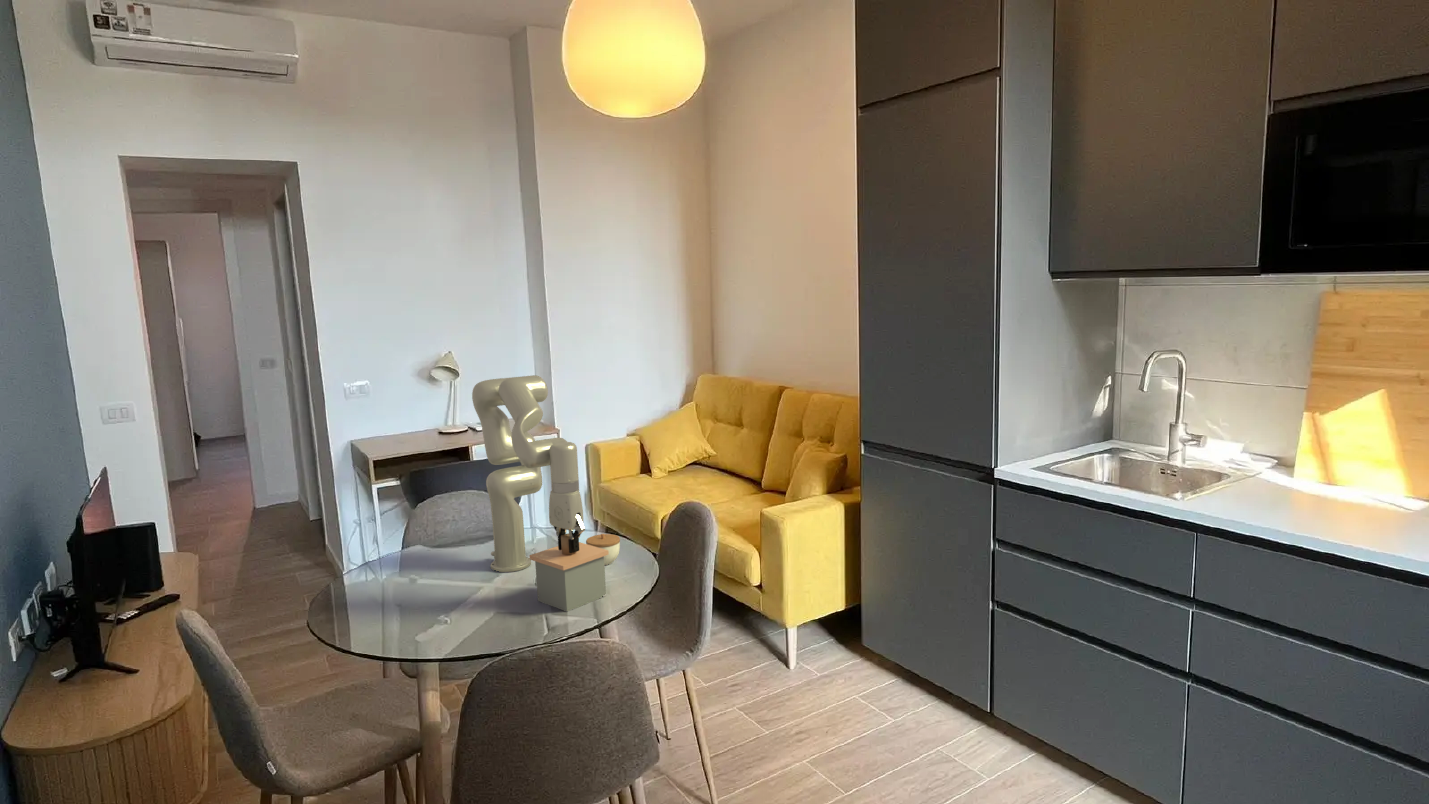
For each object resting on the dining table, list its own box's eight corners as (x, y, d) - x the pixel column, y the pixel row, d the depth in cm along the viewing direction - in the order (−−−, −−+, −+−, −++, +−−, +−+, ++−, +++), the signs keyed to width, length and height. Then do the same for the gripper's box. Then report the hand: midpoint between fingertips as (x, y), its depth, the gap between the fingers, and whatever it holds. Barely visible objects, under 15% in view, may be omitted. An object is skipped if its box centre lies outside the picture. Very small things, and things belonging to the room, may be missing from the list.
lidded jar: (627, 559, 257) (626, 531, 255) (606, 570, 248) (604, 541, 246) (602, 555, 262) (600, 527, 261) (580, 564, 253) (578, 536, 252)
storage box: (537, 600, 224) (535, 559, 223) (576, 586, 235) (574, 546, 233) (567, 611, 216) (564, 569, 214) (606, 595, 226) (603, 555, 225)
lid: (529, 562, 223) (528, 537, 222) (574, 547, 235) (573, 524, 234) (563, 574, 213) (562, 548, 212) (608, 557, 225) (607, 533, 224)
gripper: (535, 485, 224) (539, 548, 226) (573, 494, 213) (577, 560, 215) (557, 480, 229) (560, 541, 232) (595, 488, 218) (598, 552, 221)
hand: (568, 549), depth 223 cm, fingers closed on lid, 4 cm apart
